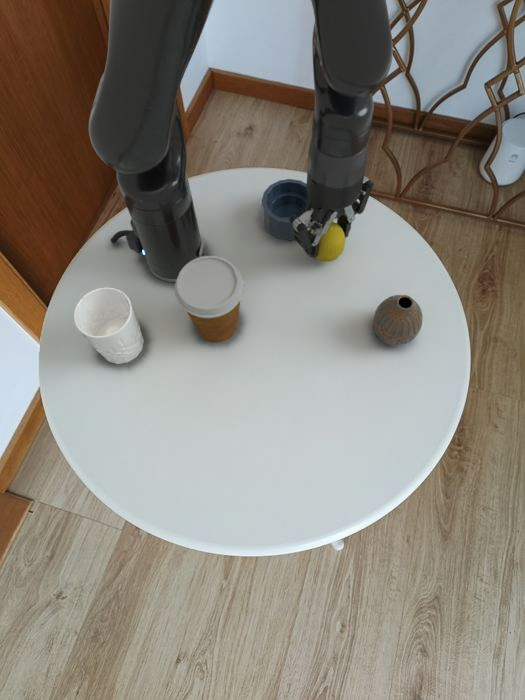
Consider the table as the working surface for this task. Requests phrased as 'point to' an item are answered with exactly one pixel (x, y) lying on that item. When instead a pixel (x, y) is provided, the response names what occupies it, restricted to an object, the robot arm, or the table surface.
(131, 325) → the white cup
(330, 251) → the lemon
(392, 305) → the vase
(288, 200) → the bowl
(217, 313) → the disposable coffee cup
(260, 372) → the table surface
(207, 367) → the table surface
